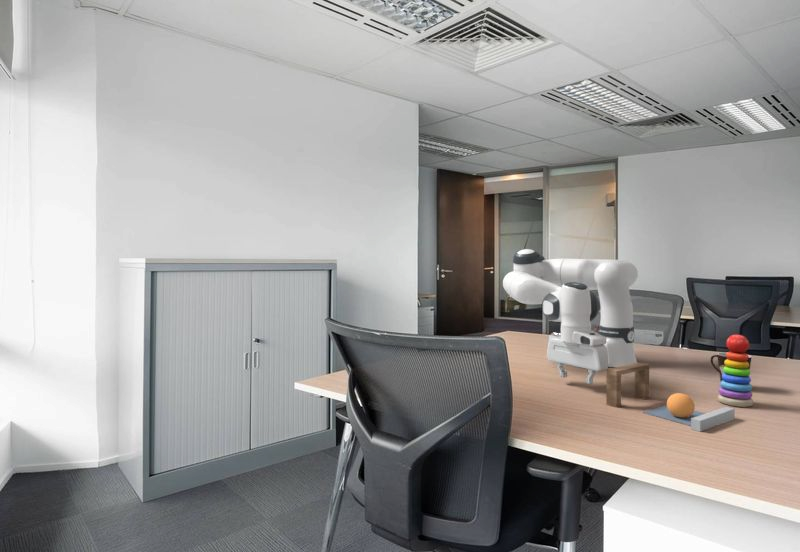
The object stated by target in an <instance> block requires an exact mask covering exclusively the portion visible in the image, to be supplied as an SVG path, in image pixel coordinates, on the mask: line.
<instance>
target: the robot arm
mask: <svg viewBox="0 0 800 552" xmlns="http://www.w3.org/2000/svg"><path fill="white" fill-rule="evenodd" d="M545 259H546V258H545V257H544V256H543V255H542V254H540V253H539V252H538V251H536V250H535V249H531V248H523V249H521V250H517V251H516V252H515V253H514V254H513V258H512V263H513V267H512V269H513V271H510V272H508V273H506V275H504V277H503V280H502V287H503V289H504V291H505V292H506V294H507V295H509V296H510V297H511V298H512V299H514V300H515V301H516V302H518V303H521V304H524V305H530V306H531V305H532V306H533V305H541V311H542V314H543V315H544V317H545V318H546V319H547V320H548V321H552V322H560V332H556V331H555V332H552V333H550V334H549V335H548V343H547V350H546V357H547V360H548V362H549V361H550V362H555V363H556V367H557V369H558V371H559V377H561V378H563V379H564V378H568V371H567V370H565V365H567V366H573V367H577V368H582V369H587V373H589V374H588V375H587V376H585V377H584V382H585V384H588V385H592V384H593V383H594V377H595V376H596V374H597V372H603V371H606V369H609V368H615V367H620V366H624V365H629V364H634V363H638V361H637V358H636V357H637V356H636V352H635V346H634V340H635V327H634V305H633V302H632V299H631V294H630V287H632V285H634V283H635V282H636V281H637V279H638V274H639V273H638V272H639V271H638V269H637V267H636V266H635V264H633V263H632V262H631V261H629V260H626V259H607V258H606V259H602V258H601V259H600V258H568V257H567V258H566V257H565V258H563V257H562V258H551V259H546V260H545ZM590 288H597V293H598V296H597V295H596V294H595V293H594V292H593V291H591V290H590ZM599 313H600V325H598V326H595V327H594V329H592V323H591V322H592V321H594V319H595V318H597V316H598V314H599ZM608 367H609V368H608Z"/></svg>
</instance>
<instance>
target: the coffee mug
mask: <svg viewBox="0 0 800 552" xmlns="http://www.w3.org/2000/svg"><path fill="white" fill-rule="evenodd" d="M726 353H727V352H725V351H724V352H723V351H722V352H717V353H716V355H715V354H713V355H712V356H710V364H711V366H712V367H713V368H714V369H715V370H716V372H718V373H719V380H720V382H721V381H722V380H723V379H722V375H723V374H724V373H725V372H724V371H723V369H724V367H725V366H726V365H725V364H724V361H725V360H726V359H728V358H727V357H726ZM747 355H748V356H749V358H748V360H747V362H748V363H749V367H748V369H749V370H750V368H751V362H752V355H749V354H747ZM714 358H717V364H718V365H717V366H718V368H717V367H716V365H715V363H714ZM750 371H751V370H750Z"/></svg>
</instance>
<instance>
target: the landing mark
mask: <svg viewBox="0 0 800 552" xmlns="http://www.w3.org/2000/svg"><path fill="white" fill-rule="evenodd" d="M642 413H643V414H646V415H648V416H649V415H650V416H653V417H656V418H660V419H663V420H667V421H671V422H674V423H679V424H683V425H686V426H689V427H691V418H694V417H697V416H700V415H703V414H706V412H701V411H697V410H694V412H693V413H692V415H690V416H689V417H686V418H679V417H676V416H674V415H672V414H671V413H670V412H669V410H668V408H667V404H666V405H662V406H659V407H655V408H652V409H648V410H644V411H642Z"/></svg>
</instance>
